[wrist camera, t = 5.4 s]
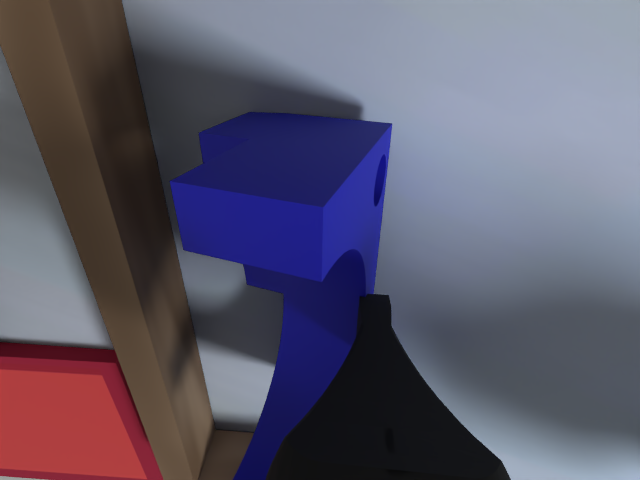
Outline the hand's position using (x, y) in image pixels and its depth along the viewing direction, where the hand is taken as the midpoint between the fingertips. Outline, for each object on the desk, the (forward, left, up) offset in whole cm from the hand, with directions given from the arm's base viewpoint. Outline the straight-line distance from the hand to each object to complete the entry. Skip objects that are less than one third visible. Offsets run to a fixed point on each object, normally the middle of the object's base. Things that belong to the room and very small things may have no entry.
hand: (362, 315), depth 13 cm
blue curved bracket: (+2, 0, -2) cm, 3 cm away
